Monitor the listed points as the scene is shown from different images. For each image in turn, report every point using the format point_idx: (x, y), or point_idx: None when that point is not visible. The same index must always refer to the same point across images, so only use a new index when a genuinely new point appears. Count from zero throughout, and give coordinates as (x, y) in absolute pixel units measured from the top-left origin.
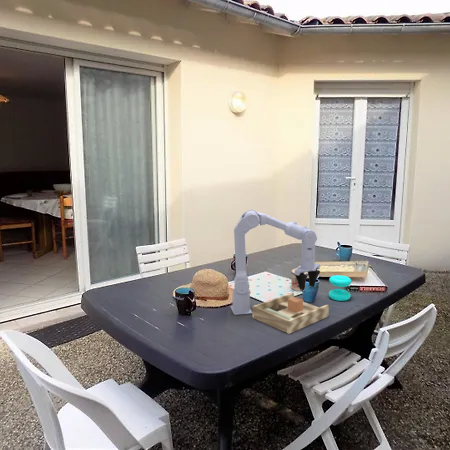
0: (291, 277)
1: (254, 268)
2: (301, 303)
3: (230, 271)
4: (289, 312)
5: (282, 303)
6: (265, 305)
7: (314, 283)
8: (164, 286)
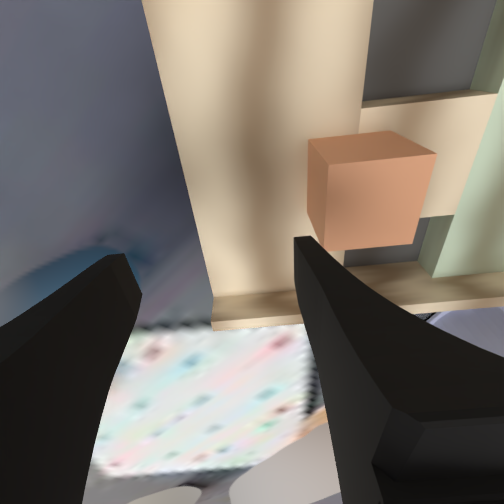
0: None
1: (129, 491)
2: (346, 152)
3: (208, 494)
4: None
5: None
6: (460, 288)
7: (89, 275)
8: None
